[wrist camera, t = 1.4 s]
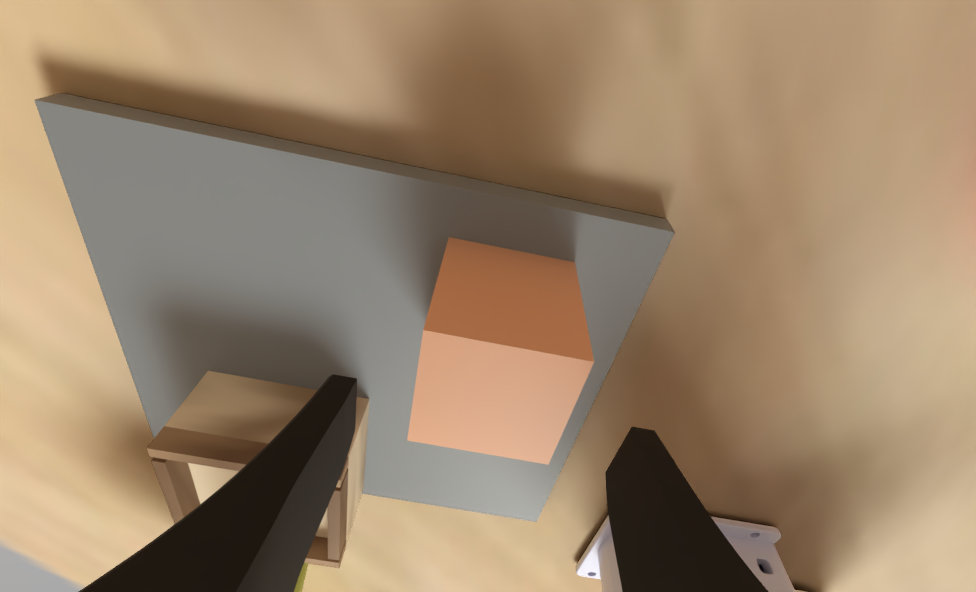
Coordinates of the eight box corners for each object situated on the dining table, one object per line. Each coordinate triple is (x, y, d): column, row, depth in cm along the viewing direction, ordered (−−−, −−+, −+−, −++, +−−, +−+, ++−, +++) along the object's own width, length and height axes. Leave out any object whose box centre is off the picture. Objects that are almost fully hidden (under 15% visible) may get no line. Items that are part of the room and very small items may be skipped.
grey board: (666, 219, 16) (674, 232, 15) (535, 504, 26) (536, 522, 25) (61, 92, 15) (34, 99, 14) (173, 445, 25) (161, 461, 24)
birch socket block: (369, 399, 20) (340, 480, 17) (363, 488, 24) (339, 568, 21) (208, 370, 20) (146, 448, 17) (228, 466, 24) (182, 544, 21)
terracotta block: (575, 262, 16) (594, 362, 12) (542, 355, 18) (548, 464, 14) (448, 237, 16) (423, 330, 11) (432, 335, 18) (406, 440, 14)
